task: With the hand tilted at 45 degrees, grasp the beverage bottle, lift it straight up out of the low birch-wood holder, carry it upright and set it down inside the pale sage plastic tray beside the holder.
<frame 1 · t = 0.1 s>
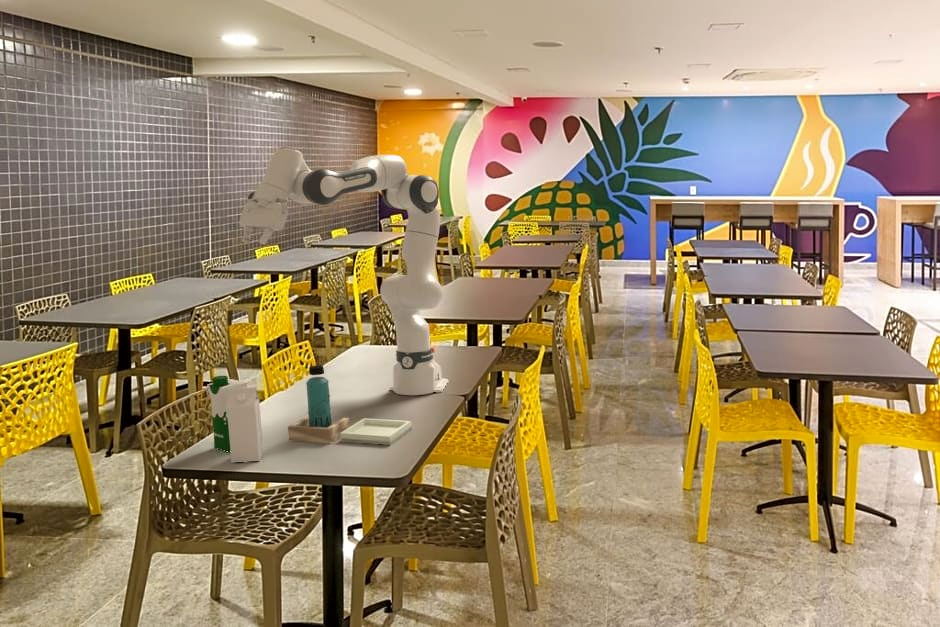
hand: (253, 243, 249), 54 cm above the table, tool tilted 30°, fingers open, 8 cm apart
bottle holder: (320, 435, 247), on the table
beverage bottle: (321, 435, 248), on the table
tray: (376, 435, 245), on the table
soya milk: (232, 447, 240), on the table
milk carton: (247, 459, 229), on the table
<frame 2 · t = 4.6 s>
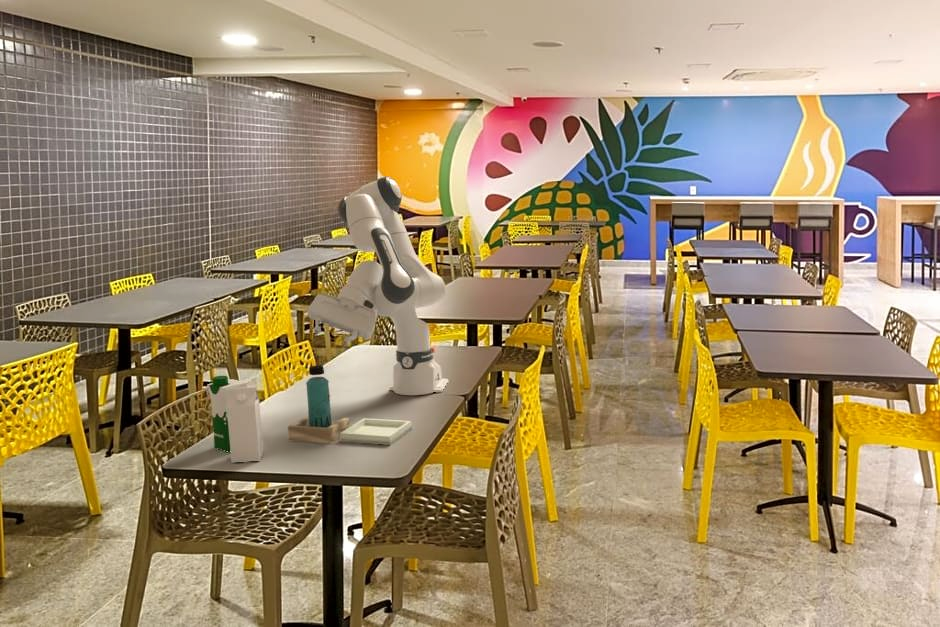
hand: (330, 337, 253), 26 cm above the table, tool tilted 50°, fingers open, 8 cm apart
nothing on the table moved.
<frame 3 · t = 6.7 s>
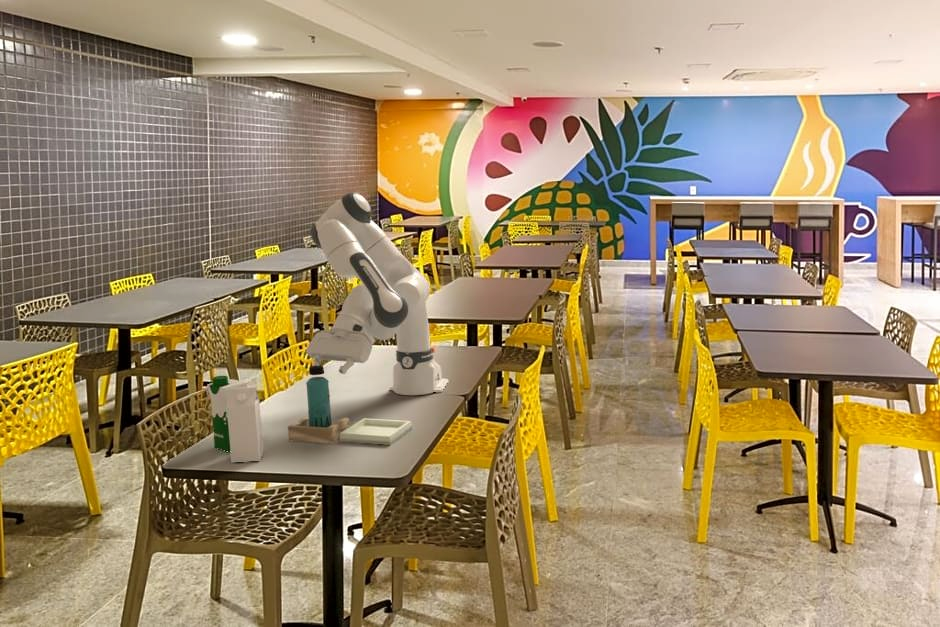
hand: (328, 371, 251), 17 cm above the table, tool tilted 45°, fingers open, 8 cm apart
nothing on the table moved.
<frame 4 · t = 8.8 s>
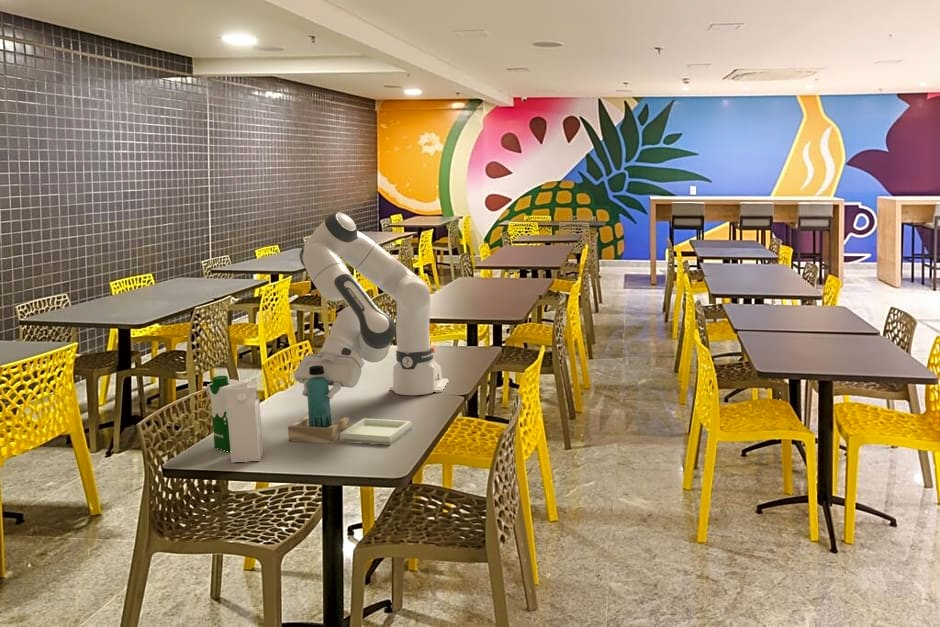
hand: (316, 396, 245), 11 cm above the table, tool tilted 45°, fingers closed on beverage bottle, 6 cm apart
beverage bottle: (321, 435, 248), on the table, touching gripper
everything else where it was.
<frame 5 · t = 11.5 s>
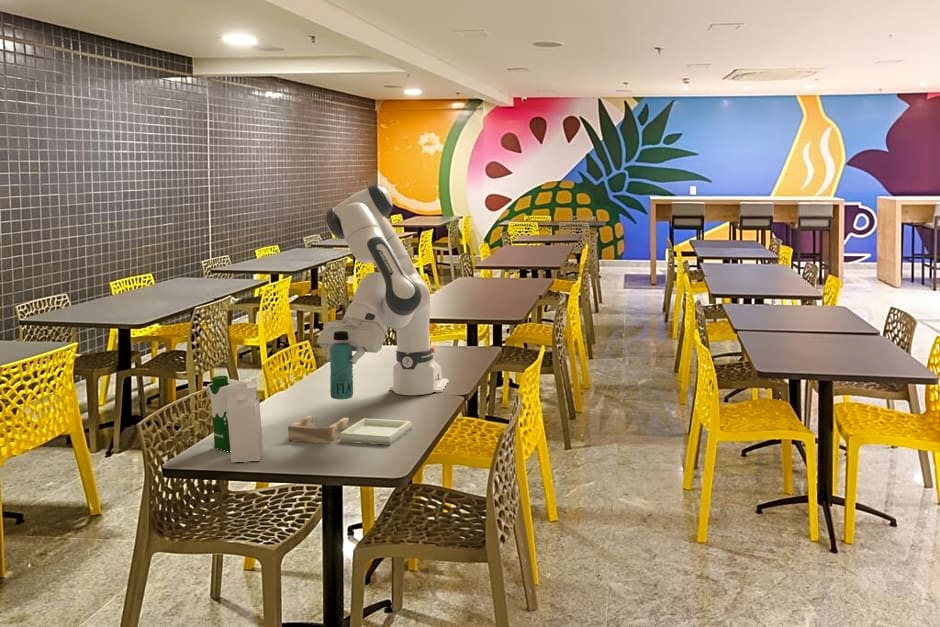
hand: (340, 361, 243), 21 cm above the table, tool tilted 45°, fingers closed on beverage bottle, 6 cm apart
beverage bottle: (341, 402, 245), point 10 cm above the table, touching gripper
everything else where it was.
when the fingers open (13 cm above the table, at t = 14.3 s): beverage bottle stays where it is, resting on tray.
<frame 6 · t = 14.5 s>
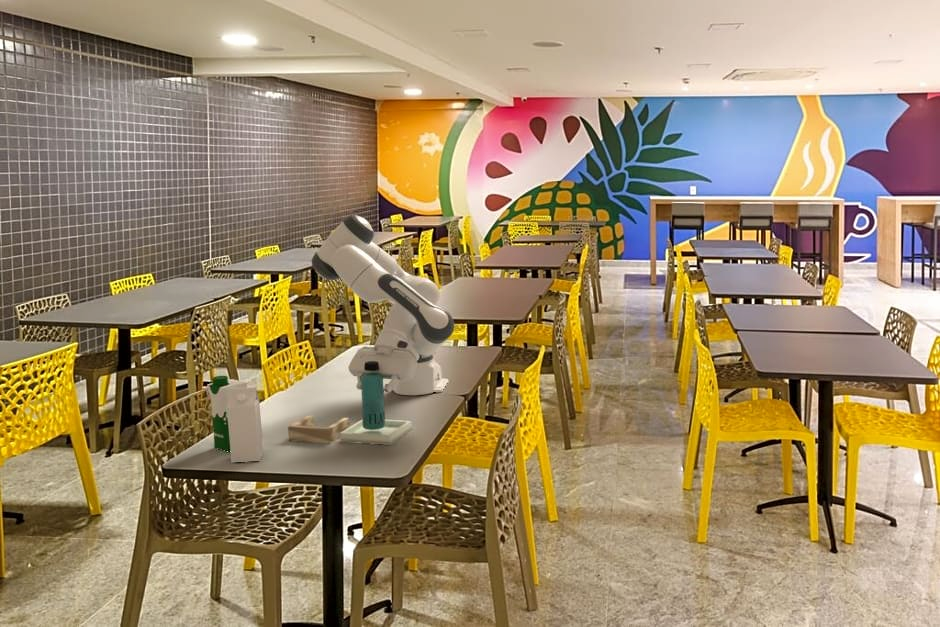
hand: (372, 389, 242), 13 cm above the table, tool tilted 45°, fingers open, 8 cm apart
beverage bottle: (373, 432, 245), point 1 cm above the table, touching gripper, tray
everything else where it was.
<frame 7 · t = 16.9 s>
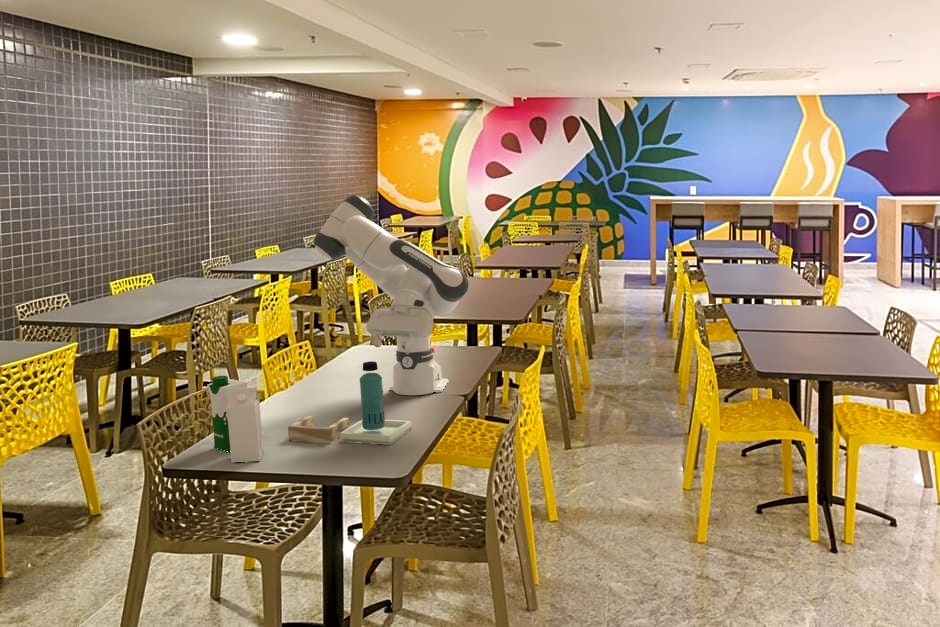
hand: (390, 347, 250), 23 cm above the table, tool tilted 45°, fingers open, 8 cm apart
beverage bottle: (374, 432, 245), point 1 cm above the table, touching tray
everything else where it was.
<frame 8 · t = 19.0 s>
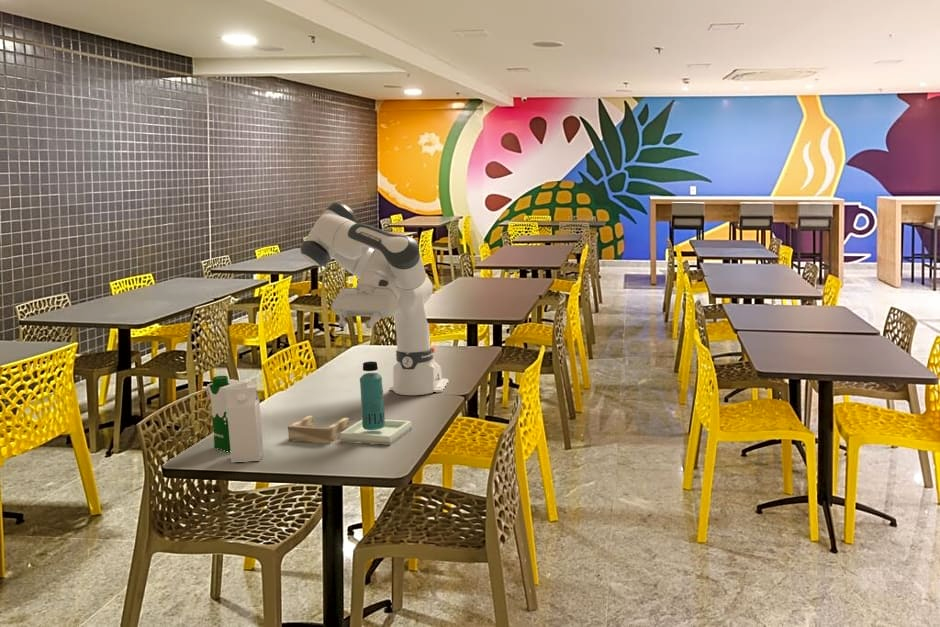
hand: (354, 326, 251), 29 cm above the table, tool tilted 45°, fingers open, 8 cm apart
nothing on the table moved.
at the end: beverage bottle inside the target area on the tray (0.8 cm from its centre), point 0.8 cm above the tray's base; beverage bottle tilted 0°; the gripper is holding nothing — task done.
